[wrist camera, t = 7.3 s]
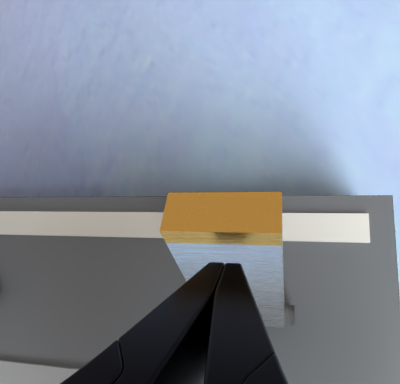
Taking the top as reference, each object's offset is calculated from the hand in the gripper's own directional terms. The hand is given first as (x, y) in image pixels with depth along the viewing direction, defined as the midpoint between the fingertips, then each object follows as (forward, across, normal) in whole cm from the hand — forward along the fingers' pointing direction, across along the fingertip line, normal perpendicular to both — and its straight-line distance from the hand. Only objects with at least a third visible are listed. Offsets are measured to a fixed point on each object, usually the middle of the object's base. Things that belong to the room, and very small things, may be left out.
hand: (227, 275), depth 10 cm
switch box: (+7, -7, -9) cm, 14 cm away
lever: (+3, 0, -5) cm, 6 cm away
